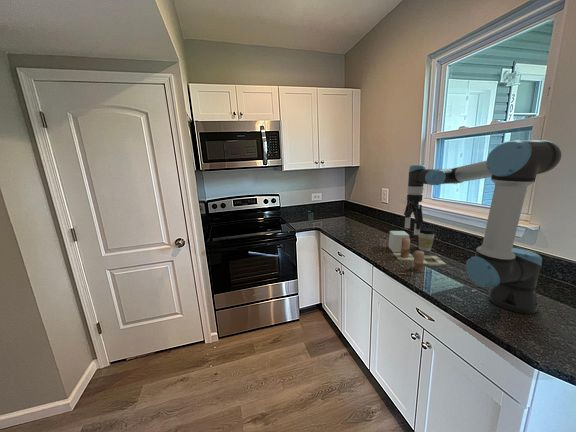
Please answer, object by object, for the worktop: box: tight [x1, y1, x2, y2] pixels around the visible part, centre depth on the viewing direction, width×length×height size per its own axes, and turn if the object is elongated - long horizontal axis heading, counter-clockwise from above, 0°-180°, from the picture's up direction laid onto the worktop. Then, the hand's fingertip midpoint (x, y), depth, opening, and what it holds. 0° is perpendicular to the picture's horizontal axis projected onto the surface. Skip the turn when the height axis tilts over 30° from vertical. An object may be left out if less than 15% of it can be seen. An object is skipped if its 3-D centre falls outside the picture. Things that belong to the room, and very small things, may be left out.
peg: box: [412, 249, 425, 274], centre depth 131 cm, size 4×4×11 cm
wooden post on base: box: [392, 237, 414, 261], centre depth 147 cm, size 11×10×12 cm
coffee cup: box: [418, 226, 436, 252], centre depth 157 cm, size 10×10×15 cm
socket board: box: [423, 255, 447, 267], centre depth 140 cm, size 12×12×2 cm
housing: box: [388, 230, 410, 253], centre depth 158 cm, size 9×9×13 cm
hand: (411, 231), depth 139 cm, fingers open, 13 cm apart
